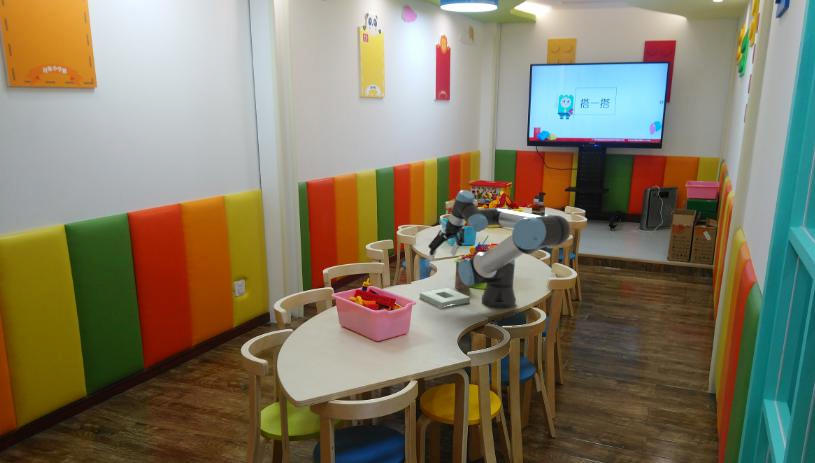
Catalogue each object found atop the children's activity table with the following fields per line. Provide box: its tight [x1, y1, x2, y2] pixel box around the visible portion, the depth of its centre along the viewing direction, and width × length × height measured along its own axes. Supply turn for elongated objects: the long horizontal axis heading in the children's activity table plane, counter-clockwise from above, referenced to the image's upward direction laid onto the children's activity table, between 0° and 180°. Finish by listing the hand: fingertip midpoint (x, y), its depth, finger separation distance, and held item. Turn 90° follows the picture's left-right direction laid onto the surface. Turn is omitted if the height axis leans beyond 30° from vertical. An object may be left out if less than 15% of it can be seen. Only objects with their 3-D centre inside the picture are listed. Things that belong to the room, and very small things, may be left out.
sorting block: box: [419, 287, 471, 308], centre depth 259 cm, size 16×16×2 cm
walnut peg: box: [454, 260, 471, 292], centre depth 277 cm, size 6×4×13 cm, turn 35°
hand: (441, 256), depth 271 cm, fingers open, 13 cm apart
